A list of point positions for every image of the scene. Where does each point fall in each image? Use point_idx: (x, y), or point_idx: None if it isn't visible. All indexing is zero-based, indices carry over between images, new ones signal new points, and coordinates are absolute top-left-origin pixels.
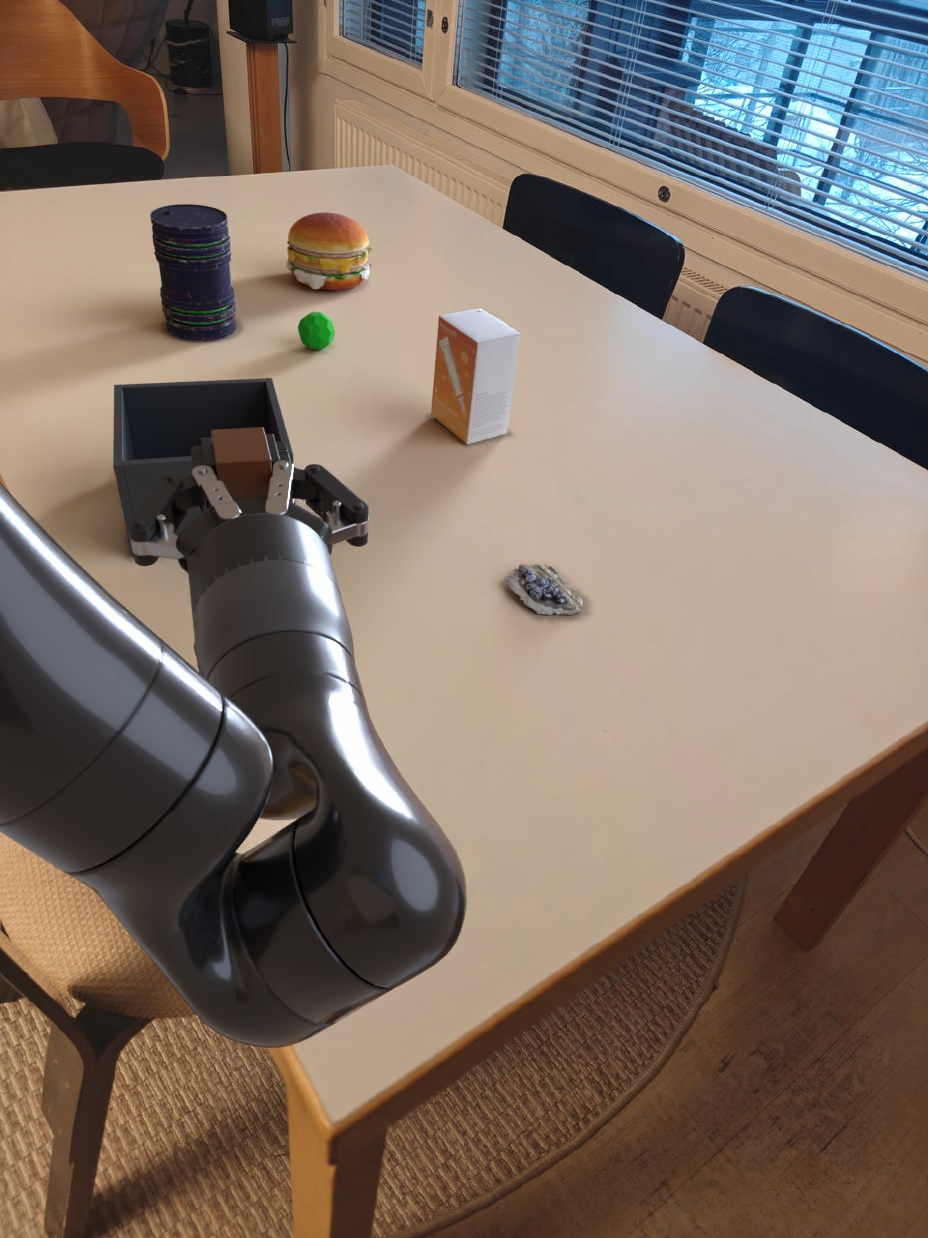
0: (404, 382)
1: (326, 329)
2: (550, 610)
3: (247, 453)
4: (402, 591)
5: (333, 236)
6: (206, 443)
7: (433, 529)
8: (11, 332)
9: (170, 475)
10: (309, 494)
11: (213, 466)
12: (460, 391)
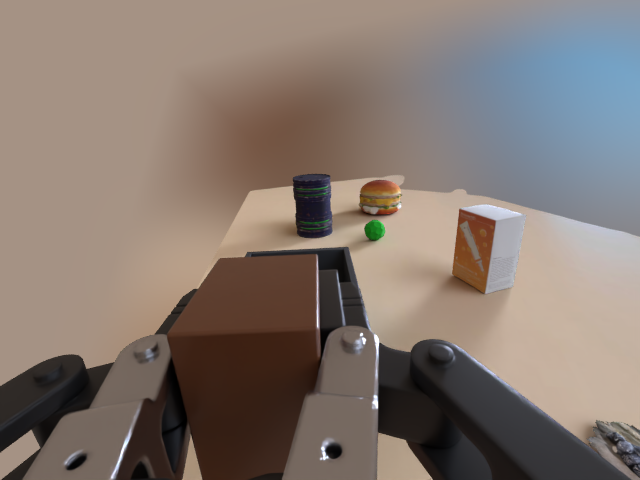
0: (429, 255)
1: (380, 228)
2: None
3: (261, 308)
4: None
5: (383, 188)
6: None
7: None
8: (225, 236)
9: (48, 365)
10: (423, 430)
11: None
12: (479, 256)
